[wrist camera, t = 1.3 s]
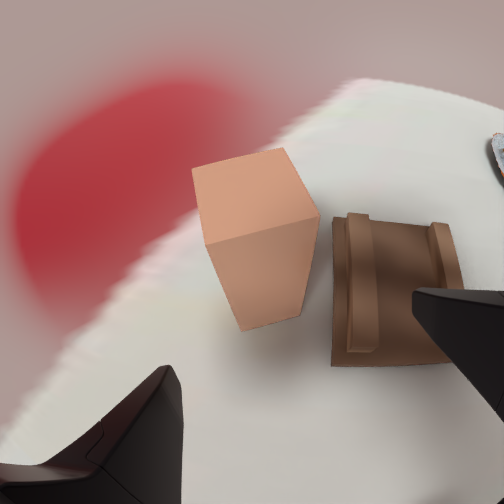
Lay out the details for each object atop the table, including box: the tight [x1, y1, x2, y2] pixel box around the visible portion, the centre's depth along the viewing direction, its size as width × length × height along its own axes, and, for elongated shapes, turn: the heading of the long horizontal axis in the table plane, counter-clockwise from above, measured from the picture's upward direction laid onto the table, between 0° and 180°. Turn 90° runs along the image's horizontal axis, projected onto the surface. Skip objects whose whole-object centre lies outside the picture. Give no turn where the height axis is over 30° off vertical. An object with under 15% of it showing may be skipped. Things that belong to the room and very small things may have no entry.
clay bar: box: [192, 148, 320, 331], centre depth 18 cm, size 5×5×13 cm
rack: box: [331, 213, 464, 367], centre depth 22 cm, size 14×13×3 cm
